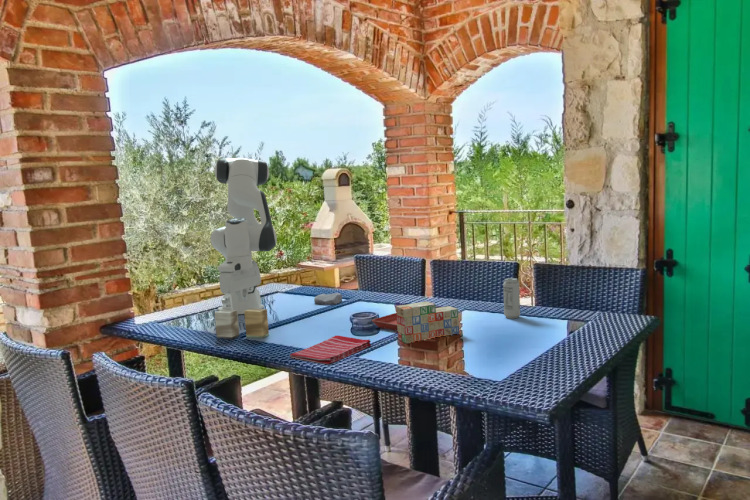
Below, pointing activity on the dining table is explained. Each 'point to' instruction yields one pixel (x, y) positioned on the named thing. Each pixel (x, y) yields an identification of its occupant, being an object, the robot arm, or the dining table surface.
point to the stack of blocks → (425, 321)
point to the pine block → (227, 324)
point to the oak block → (256, 323)
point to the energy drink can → (511, 298)
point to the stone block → (328, 298)
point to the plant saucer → (387, 322)
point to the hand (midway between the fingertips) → (243, 301)
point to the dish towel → (332, 350)
